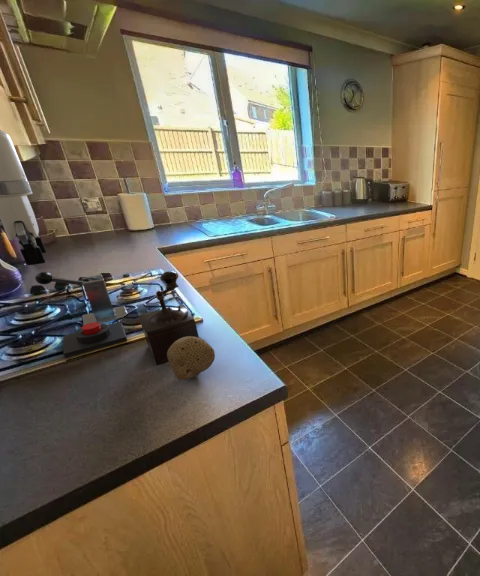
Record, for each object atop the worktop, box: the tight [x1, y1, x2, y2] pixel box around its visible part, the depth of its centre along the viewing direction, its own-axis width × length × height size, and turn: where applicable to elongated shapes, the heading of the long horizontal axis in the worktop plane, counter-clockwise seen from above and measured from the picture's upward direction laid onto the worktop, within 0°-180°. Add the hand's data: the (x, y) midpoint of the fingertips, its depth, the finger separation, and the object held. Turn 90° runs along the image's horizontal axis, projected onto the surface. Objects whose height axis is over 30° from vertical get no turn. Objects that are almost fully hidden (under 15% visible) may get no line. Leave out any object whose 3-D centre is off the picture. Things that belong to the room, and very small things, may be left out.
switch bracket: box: [81, 274, 128, 326], centre depth 94 cm, size 10×8×13 cm
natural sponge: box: [167, 336, 216, 381], centre depth 74 cm, size 9×9×10 cm
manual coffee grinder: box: [138, 270, 200, 366], centre depth 83 cm, size 16×11×18 cm
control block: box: [62, 321, 129, 362], centre depth 84 cm, size 12×10×4 cm
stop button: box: [81, 322, 102, 335], centre depth 83 cm, size 4×4×2 cm
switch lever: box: [34, 271, 94, 287], centre depth 88 cm, size 13×3×3 cm, turn 133°
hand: (37, 258), depth 82 cm, fingers open, 9 cm apart
